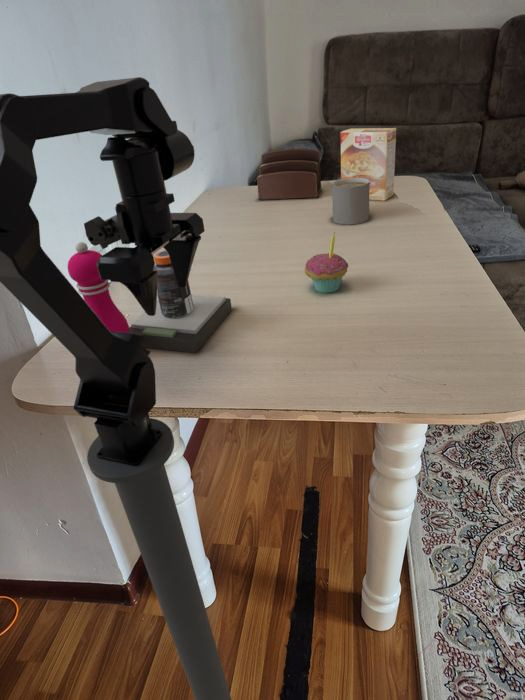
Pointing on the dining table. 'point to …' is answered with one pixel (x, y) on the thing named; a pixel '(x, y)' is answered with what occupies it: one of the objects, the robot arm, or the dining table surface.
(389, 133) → the coffeecake box
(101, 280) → the pepper mill
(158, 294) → the pill bottle
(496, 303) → the dining table surface
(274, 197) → the letter holder
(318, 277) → the cupcake
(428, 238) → the dining table surface
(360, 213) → the coffee mug
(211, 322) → the scale
